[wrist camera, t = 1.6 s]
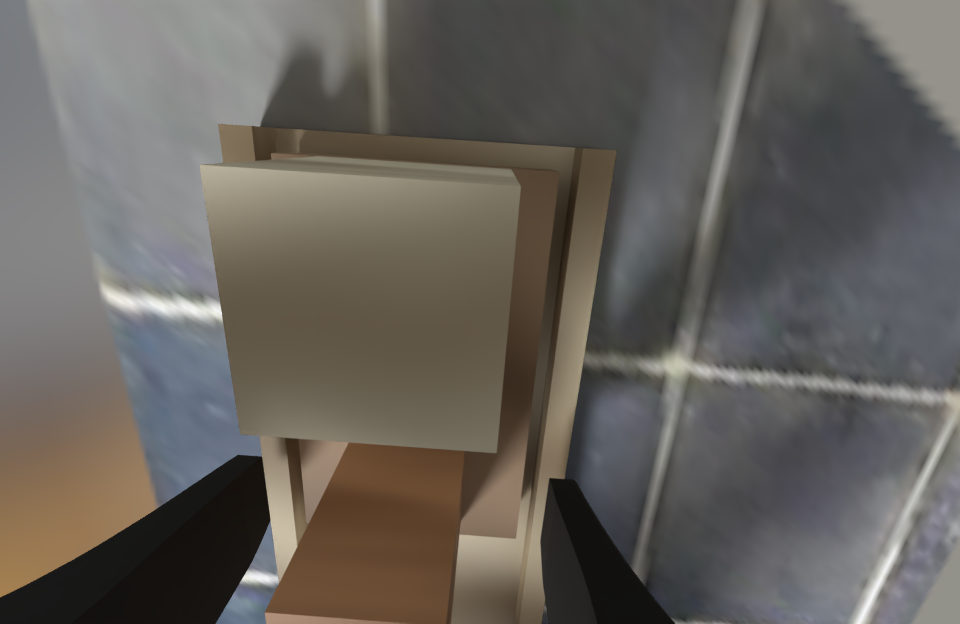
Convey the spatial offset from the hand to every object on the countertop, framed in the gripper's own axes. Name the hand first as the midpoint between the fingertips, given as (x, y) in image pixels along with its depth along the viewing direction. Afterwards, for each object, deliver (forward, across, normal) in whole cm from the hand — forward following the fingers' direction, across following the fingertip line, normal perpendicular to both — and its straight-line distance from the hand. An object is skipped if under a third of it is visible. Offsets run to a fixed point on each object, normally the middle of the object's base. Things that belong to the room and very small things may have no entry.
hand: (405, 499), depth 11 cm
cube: (+1, 0, -6) cm, 6 cm away
